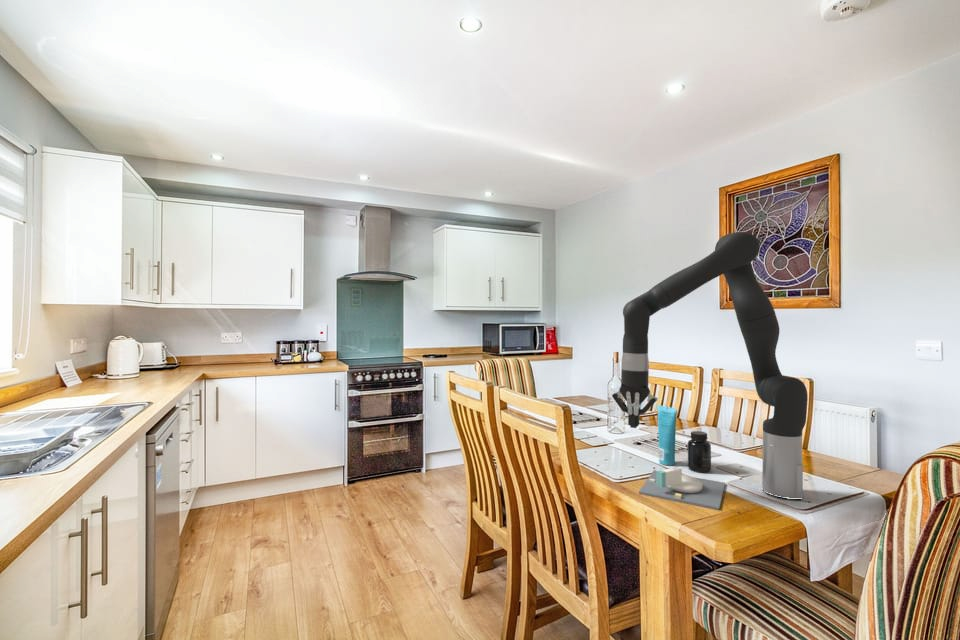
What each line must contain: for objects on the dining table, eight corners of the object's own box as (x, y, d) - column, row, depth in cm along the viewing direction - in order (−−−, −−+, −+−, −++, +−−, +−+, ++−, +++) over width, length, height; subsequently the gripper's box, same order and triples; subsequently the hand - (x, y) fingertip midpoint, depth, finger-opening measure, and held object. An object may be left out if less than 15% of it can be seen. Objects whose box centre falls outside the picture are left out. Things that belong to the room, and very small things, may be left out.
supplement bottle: (708, 467, 148) (708, 430, 148) (713, 474, 142) (713, 436, 141) (685, 465, 150) (686, 429, 150) (689, 472, 144) (689, 434, 143)
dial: (680, 477, 137) (680, 459, 137) (710, 489, 128) (710, 469, 128) (645, 485, 130) (645, 466, 130) (673, 498, 121) (673, 477, 121)
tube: (680, 464, 151) (681, 407, 150) (673, 467, 148) (673, 409, 147) (660, 459, 156) (660, 404, 156) (652, 462, 153) (652, 405, 153)
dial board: (724, 484, 133) (724, 479, 133) (719, 510, 116) (719, 504, 116) (653, 472, 144) (653, 467, 144) (639, 493, 127) (639, 488, 127)
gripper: (608, 367, 132) (607, 426, 132) (656, 371, 125) (654, 433, 125) (615, 365, 138) (614, 421, 138) (661, 368, 131) (660, 428, 131)
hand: (633, 427), depth 132 cm, fingers closed
